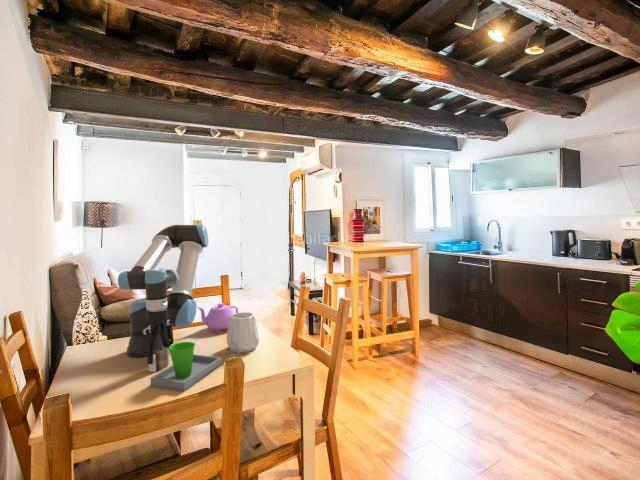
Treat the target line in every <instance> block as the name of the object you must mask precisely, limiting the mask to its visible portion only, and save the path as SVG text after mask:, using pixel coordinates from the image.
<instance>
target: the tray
mask: <svg viewBox="0 0 640 480" xmlns="http://www.w3.org/2000/svg"><path fill="white" fill-rule="evenodd" d="M221 366H223V357H221V356H211V355H205V354H204V355H203V354H196V353H193V361H192V369H191V374H190V376H189V377H186V378H182V379H179V378H176V376H175V372H174V367H173V364H172V365H170V366H168V367H166V368H164V369H163V370H161V371H159V373H158V372H157V373H156V374H154V375H153V376H151V377H150V387H153V388H159V389H167V390H172V391H177V392H187V391H188V390H189V389H190V388H192V387H194V386H195V385H196V384H198V383H199V382H201V381H202V380H204V378H206V377H207V376H209V375H210V374H211V373H213V372H214V371H216V370H217V369H218V368H220V367H221Z"/></svg>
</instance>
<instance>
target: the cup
mask: <svg viewBox="0 0 640 480" xmlns="http://www.w3.org/2000/svg"><path fill="white" fill-rule="evenodd" d="M195 346H196V343H195V342H193V341H179V342H175V343H173V344H171V346H169V350H170V357H171V362H172V365H173V367H174V372H175V376H176V378H179V379H182V378H186V377H189V376H190V374H191V369H192V361H193V354H195V353H194V352H195Z"/></svg>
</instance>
